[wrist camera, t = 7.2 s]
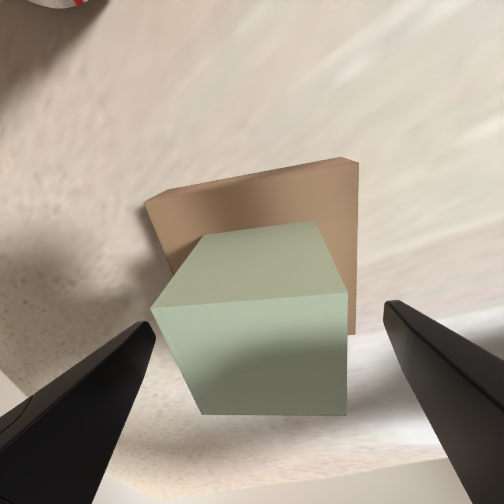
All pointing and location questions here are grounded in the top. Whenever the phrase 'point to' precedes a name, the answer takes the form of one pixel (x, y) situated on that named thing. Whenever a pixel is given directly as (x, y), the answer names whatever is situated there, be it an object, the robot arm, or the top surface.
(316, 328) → the sage cube
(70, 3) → the soda can
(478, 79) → the top surface
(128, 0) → the top surface
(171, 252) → the walnut slab
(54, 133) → the top surface
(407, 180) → the top surface
